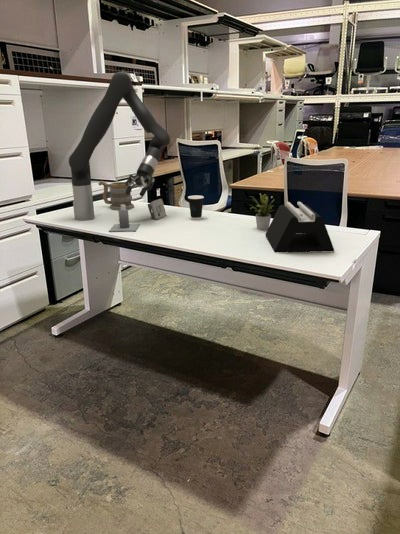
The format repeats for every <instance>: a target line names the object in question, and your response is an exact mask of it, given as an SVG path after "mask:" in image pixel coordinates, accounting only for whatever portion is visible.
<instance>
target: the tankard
mask: <svg viewBox="0 0 400 534" xmlns="http://www.w3.org/2000/svg"><path fill="white" fill-rule="evenodd" d="M126 182H127V181H115V182H111V183H107V182H106V181H103V180H100V181H98V186H103V194H102V199H103V201H104V203H105V204H106V205H109V208H110V209H111V210H112V211H118V210H121V205H125V207H126V209H128V211H129V210H132V209H133V208H135V206H134V204H133V203H132V201H133V196H132V195H131V194H132V193H131V192H132V190H131V192H130V194H129V195H127V194H126V193H125V191H126V189H127V186H126V185H125V183H126ZM128 184H129V183H128ZM109 192H110V195H111V196H110V197H109V198H110V200H109V199H108V193H109Z"/></svg>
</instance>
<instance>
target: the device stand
mask: <svg viewBox="0 0 400 534" xmlns="http://www.w3.org/2000/svg"><path fill="white" fill-rule="evenodd" d="M296 203H297V205H298V207H299V208H297V207H295V206H294V205H293V204H292V203H291V202H290V201H287V202H286V203H285V204H280V205H279V207H278V208H277V210H276V212H275V214H274V217H273V218H272V221H270V224H269V228H268V229H267V230H266V232H265V238H266V240H267V241H268V243H269V244H270V246H271V248H272V250H273V252H274V253H275V252H288V253H311V252H310V251H333V252H335V249H334V246H333V245H334V244H333V242H332V239H331V237H330V234H329V231H328V228H327V226H326V223H325V221H324V218H323V217H322V216H321V215H319V214H318V213H317V212H316V211H314V210H313V209H312V208H311V207H310V206H309V205H307V204H303V202H301V201H297V202H296Z"/></svg>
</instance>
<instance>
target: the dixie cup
mask: <svg viewBox="0 0 400 534" xmlns="http://www.w3.org/2000/svg"><path fill="white" fill-rule="evenodd" d="M204 198H205V197H204V196H203V195H189V196H187V199H188V205H189V211H190V213H189V214H190V219H191V220H193V221H195V220H196V221H197V220H201V219H202V217H203V204H204Z"/></svg>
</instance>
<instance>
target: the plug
mask: <svg viewBox="0 0 400 534" xmlns="http://www.w3.org/2000/svg"><path fill="white" fill-rule="evenodd" d="M117 211H118V221H119V222H118V224H120V228H129V224H130V219H129V210H128V209H126V207H125V205H121V210H117Z"/></svg>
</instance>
